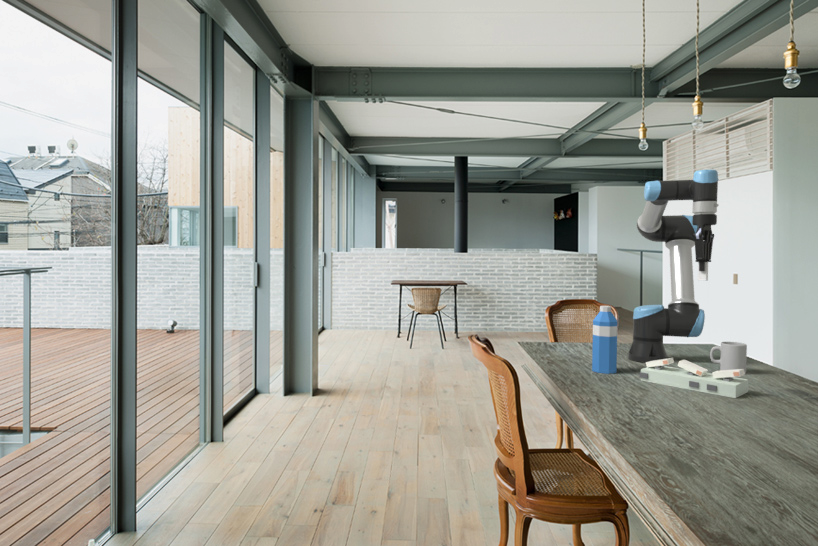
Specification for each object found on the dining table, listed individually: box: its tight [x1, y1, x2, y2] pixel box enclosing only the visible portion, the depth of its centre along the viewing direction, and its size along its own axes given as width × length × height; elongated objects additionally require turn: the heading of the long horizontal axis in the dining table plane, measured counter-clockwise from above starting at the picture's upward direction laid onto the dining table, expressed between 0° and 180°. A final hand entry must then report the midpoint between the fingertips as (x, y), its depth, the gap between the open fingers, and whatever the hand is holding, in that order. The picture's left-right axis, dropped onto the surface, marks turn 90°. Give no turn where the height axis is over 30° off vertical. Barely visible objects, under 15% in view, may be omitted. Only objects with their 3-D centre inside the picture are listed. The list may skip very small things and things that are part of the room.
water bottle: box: [591, 305, 618, 375], centre depth 199 cm, size 9×9×25 cm
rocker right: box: [711, 369, 746, 378], centre depth 169 cm, size 8×5×2 cm, turn 40°
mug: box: [709, 341, 748, 375], centre depth 199 cm, size 12×8×11 cm
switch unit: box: [639, 365, 749, 399], centre depth 177 cm, size 30×12×5 cm, turn 41°
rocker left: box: [645, 357, 675, 367], centre depth 186 cm, size 8×5×2 cm, turn 40°
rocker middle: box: [677, 359, 709, 376], centre depth 177 cm, size 8×5×2 cm, turn 41°
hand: (702, 280), depth 185 cm, fingers closed
